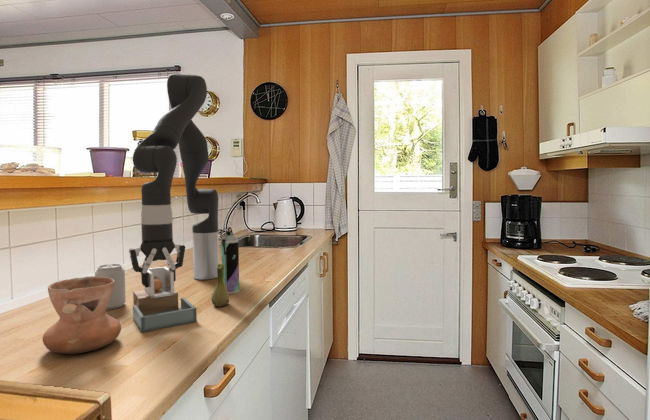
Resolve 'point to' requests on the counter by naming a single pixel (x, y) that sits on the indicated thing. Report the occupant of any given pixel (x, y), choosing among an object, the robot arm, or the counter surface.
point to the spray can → (230, 262)
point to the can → (119, 286)
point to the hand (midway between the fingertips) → (158, 284)
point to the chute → (167, 281)
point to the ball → (157, 284)
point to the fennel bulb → (220, 289)
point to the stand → (154, 302)
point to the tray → (165, 317)
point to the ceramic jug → (81, 315)
